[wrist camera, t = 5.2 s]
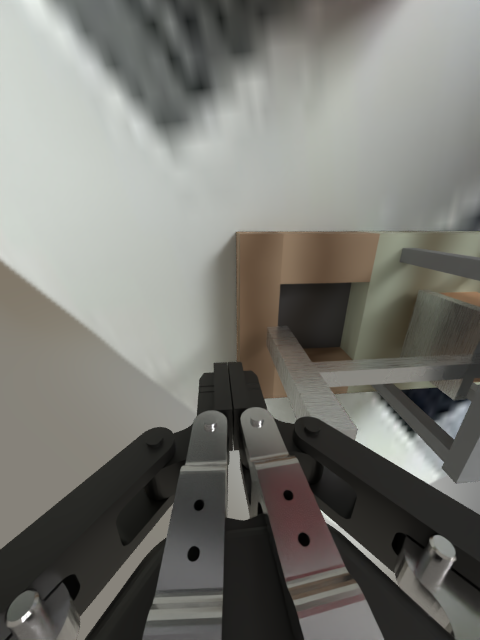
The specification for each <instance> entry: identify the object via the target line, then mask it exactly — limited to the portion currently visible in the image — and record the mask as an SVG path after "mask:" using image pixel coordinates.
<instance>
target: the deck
mask: <svg viewBox="0 0 480 640" xmlns="http://www.w3.org/2000/svg"><path fill="white" fill-rule="evenodd" d="M403 248H420V249H426V250H433V251H440V252H446V253H453V254H460V255H466V256H473V257H480V231H347V232H236V295H237V362H242V366H243V371H249V370H252V371H253V372H254V373H255V374H256V375H257V377H258V380H259V384H260V387H261V390H262V394H263V397H264V399H265V398H280V397H287V394H286V392H285V389H284V387H283V385H282V382H281V380H280V377H279V375H278V372H277V370H276V368H275V365H274V363H273V360H272V358H271V355H270V353H269V351H268V348H267V346H266V341H267V327H276V326H288V328H289V329H290V330H291V332H292V333H293V335H294V336H295V338H296V339H297V341H298V342H299V344H300V345H301V347H302V348H303V350H304V351H305V352H306V354H307V355H308V357H309V358H310V360H311V361H312V362H327V361H346V360H365V359H384V358H400V354H401V351H402V347H403V344H404V340H405V337H406V333H407V330H408V327H409V323H410V320H411V316H412V313H413V309H414V306H415V302H416V299H417V296H418V292H419V290H431V291H434V292H437V293H446V292H479V293H480V281H478V280H474V279H470V278H465V277H461V276H457V275H453V274H449V273H444V272H440V271H436V270H432V269H427V268H423V267H419V266H415V265H411V264H406V263H402V262H399V261H400V257H401V253H402V249H403ZM474 383H475V384H477V385H479V384H480V382H474ZM393 384H394V385H395V386H396V387H397V388H399V389H400V390H403V389H418V388H433V387H436V386H435V385H433V384H432V383H431V382H429V381H421V382H405V383H393ZM329 388H330V389H331V391H332V392H333V394H342V393H357V392H372V391H376V389H375V388H374V387H373V386H372V385H357V386H341V387H329Z"/></svg>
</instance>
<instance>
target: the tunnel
mask: <svg viewBox="0 0 480 640" xmlns="http://www.w3.org/2000/svg"><path fill="white" fill-rule="evenodd" d="M399 262H402V263H406V264H411V265H415V266H419V267H423V268H427V269H432V270H436V271H440V272H444V273H449V274H453V275H457V276H461V277H465V278H470V279H474V280H478V281H480V257H473V256H466V255H460V254H453V253H446V252H440V251H433V250H426V249H420V248H403V249H402V253H401V257H400V261H399ZM372 386H373V387H374V388H375V389H376V391H377V392H378V393H379V394H380V395H381V396H382V397H383V398H384V399H385V400H386V401H387V402H388V403H389V404H390V405H391V406H392V408H393V409H394V410H395V411H396V412H397V413H398V414H399V415H400V416H401V417H402V418H403V419H404V420H405V421H406V422H407V423H408V424H409V426H410V427H411V428H412V429H413V430H414V431H415V432H416V433H417V434H418V435H419V436H420V437H421V438H422V439H423V440H424V441H425V443H426V444H427V445H428V446H429V447H430V448H431V449H432V450H433V451H434V452H435V453H436V454H437V455H438V456H439V457H440V458H441V460H442V461H443V462H444V464H443V466H442V469H443V470H444V471H445V472H446V473H447V474H448V475H449V477H450V478H451V479H452V480H453V481H454V482H455V483H456V484H457V483H467V482H476V481H480V385H479V386H478V385H477V384H475V383H472V385H471V387H470V390H469V392H468V394H467V397H466V398H467V399H469V400H470V401H471V404H470V407H469V409H468V411H467V413H466V415H465V418H464V420H463V422H462V424H461V426H460V429H459V431H458V433H457V435H456V437H455V439H453V438H452V437H451V436H449V435H448V434H447V433H446V432H445V431H444V430H443V429H442V428H441V427H440V426H439V425H438V424H436V423H435V422H434V421H433V420H432V419H431V418H430V417H429V416H428V415H427V414H426V413H425V412H423V411H422V410H421V409H420V408H419V407H418V406H417V405H416V404H415V403H414V402H413V401H412V400H410V399H409V398H408V397H407V396H406V395H405V394H404V393H403V392H402V391H401V390H400V389H399V388H397V387H396V386H395V385H394V384H393V383H389V384H373V385H372Z"/></svg>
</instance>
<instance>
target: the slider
mask: <svg viewBox="0 0 480 640" xmlns="http://www.w3.org/2000/svg"><path fill="white" fill-rule="evenodd" d="M266 346H267V348H268V351H269V353H270V355H271V358H272V360H273V363H274V365H275V368H276V370H277V372H278V375H279V377H280V380H281V382H282V385H283V387H284V389H285V392H286V394H287V397H288V399H289V401H290V404H291V406H292V409H293V411H294V414H295V416H296V418H297V419H299V418H301V417H305V416H310V417H315V418H318V419H320V420H321V421H323V422H325V423H326V424H328V425H330V426H331V427H333V428H335V429H336V430H338V431H340V432H342V433H343V434H345V435H347V436H348V437H350V438H352V439H353V440H355V438H356V434H357V430H358V429H357V427H356V426H355V424H354V423H353V422H352V420H351V419H350V417H349V416H348V414H347V413H346V411H345V410H344V408H343V407H342V405H341V404H340V402H339V401H338V399H337V398H336V397H335V395H334V394H333V392H332V391H331V389H330V388H329V387H341V386H357V385H373V384H389V383H405V382H421V381H429V382H431V383H432V384H433V385H435V386H436V387H437V388H439V389H440V390H441V391H443V392H444V393H445V394H446V395H448V396H449V397H450V398H452V399H453V400H465V399H466V397H467V394H468V392H469V390H470V387H471V385H472V383H473V381H474V378H480V307H478V306H476V305H473V304H470V303H467V302H464V301H461V300H458V299H455V298H452V297H449V296H446V295H443V294H440V293H437V292H434V291H431V290H419V292H418V296H417V299H416V302H415V306H414V309H413V313H412V316H411V320H410V323H409V327H408V330H407V333H406V337H405V340H404V344H403V347H402V351H401V354H400V358H384V359H365V360H346V361H327V362H312V361H311V360H310V358H309V357H308V355H307V354H306V352H305V351H304V350H303V348H302V347H301V345H300V344H299V342H298V341H297V339H296V338H295V336H294V335H293V333H292V332H291V330H290V329H289V328H288V326H276V327H267V341H266Z"/></svg>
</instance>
